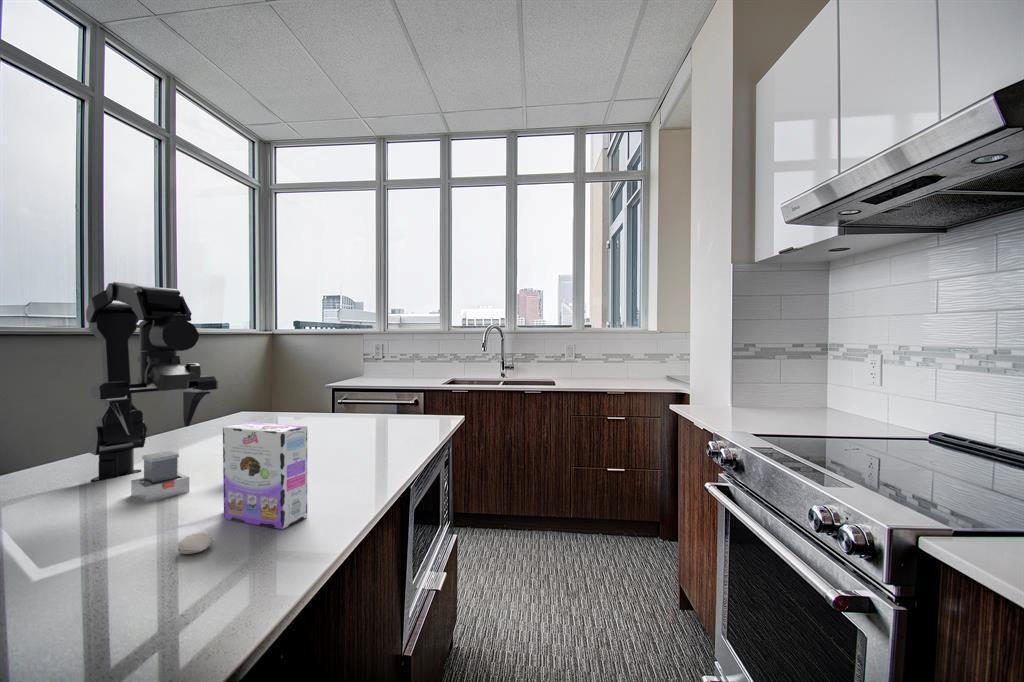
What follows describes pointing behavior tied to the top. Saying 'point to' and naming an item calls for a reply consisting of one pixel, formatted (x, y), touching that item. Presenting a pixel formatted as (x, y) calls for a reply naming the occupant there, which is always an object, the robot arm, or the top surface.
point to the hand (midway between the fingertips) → (159, 430)
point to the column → (160, 467)
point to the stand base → (159, 488)
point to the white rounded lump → (195, 543)
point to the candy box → (265, 473)
